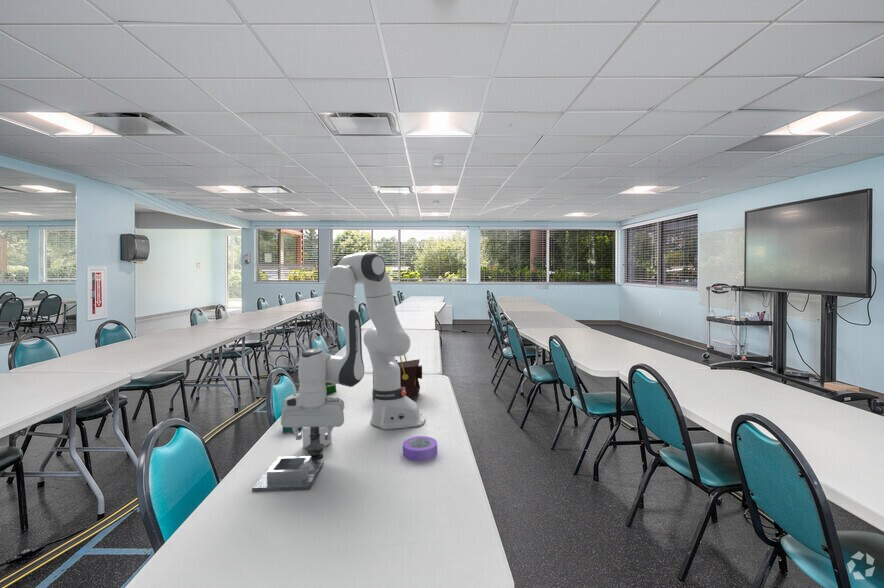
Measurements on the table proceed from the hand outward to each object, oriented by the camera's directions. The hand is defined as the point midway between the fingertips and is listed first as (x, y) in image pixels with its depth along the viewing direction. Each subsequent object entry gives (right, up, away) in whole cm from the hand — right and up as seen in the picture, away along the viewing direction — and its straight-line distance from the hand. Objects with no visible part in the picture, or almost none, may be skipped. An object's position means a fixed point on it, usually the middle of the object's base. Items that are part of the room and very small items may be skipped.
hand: (313, 439), depth 137 cm
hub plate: (-3, -7, -13) cm, 15 cm away
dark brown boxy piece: (+21, -3, +67) cm, 71 cm away
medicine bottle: (-2, -6, +10) cm, 12 cm away
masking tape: (+36, -6, +3) cm, 36 cm away
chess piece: (+1, -6, +1) cm, 6 cm away
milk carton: (-17, -3, +77) cm, 79 cm away
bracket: (-16, -5, +32) cm, 36 cm away
